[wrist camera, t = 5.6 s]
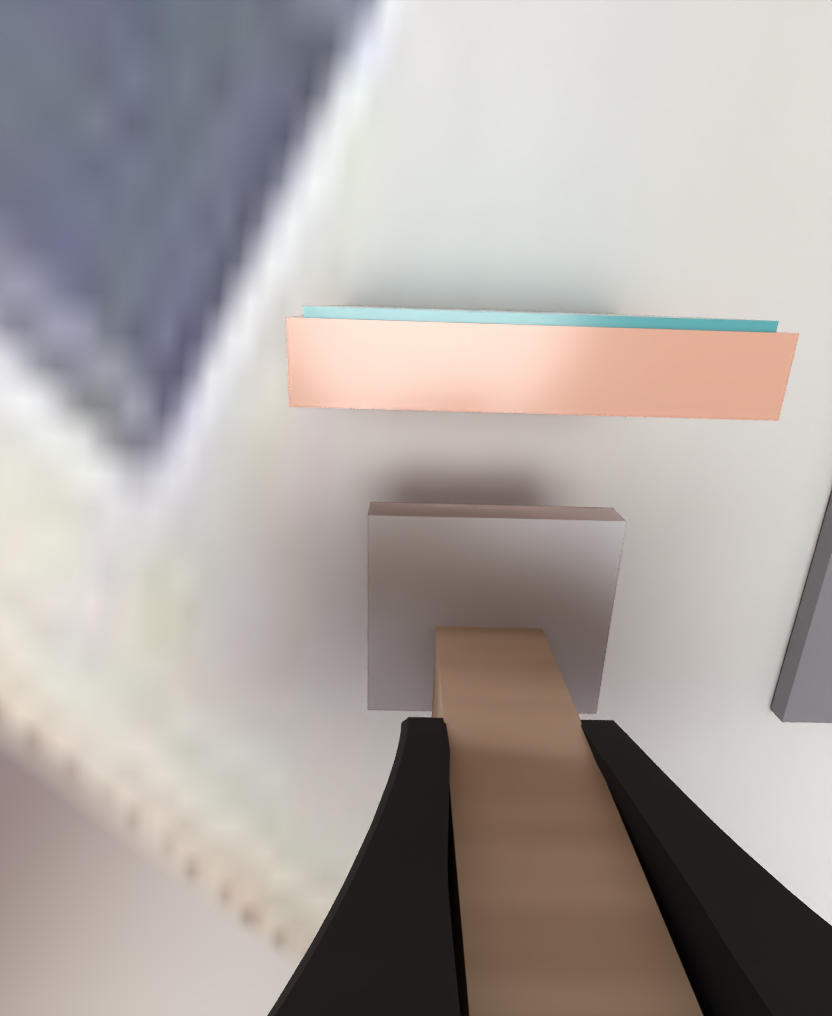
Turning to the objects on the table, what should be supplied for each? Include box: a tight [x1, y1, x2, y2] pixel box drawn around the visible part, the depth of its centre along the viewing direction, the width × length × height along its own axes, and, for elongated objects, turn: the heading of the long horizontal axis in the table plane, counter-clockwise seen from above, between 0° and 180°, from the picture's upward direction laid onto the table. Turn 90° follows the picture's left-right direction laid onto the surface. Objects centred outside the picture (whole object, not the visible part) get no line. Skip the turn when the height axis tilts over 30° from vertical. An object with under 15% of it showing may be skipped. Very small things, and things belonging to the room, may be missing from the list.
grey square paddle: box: [368, 502, 703, 1016], centre depth 9 cm, size 5×5×8 cm
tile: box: [286, 305, 799, 421], centre depth 11 cm, size 1×7×7 cm, turn 88°
